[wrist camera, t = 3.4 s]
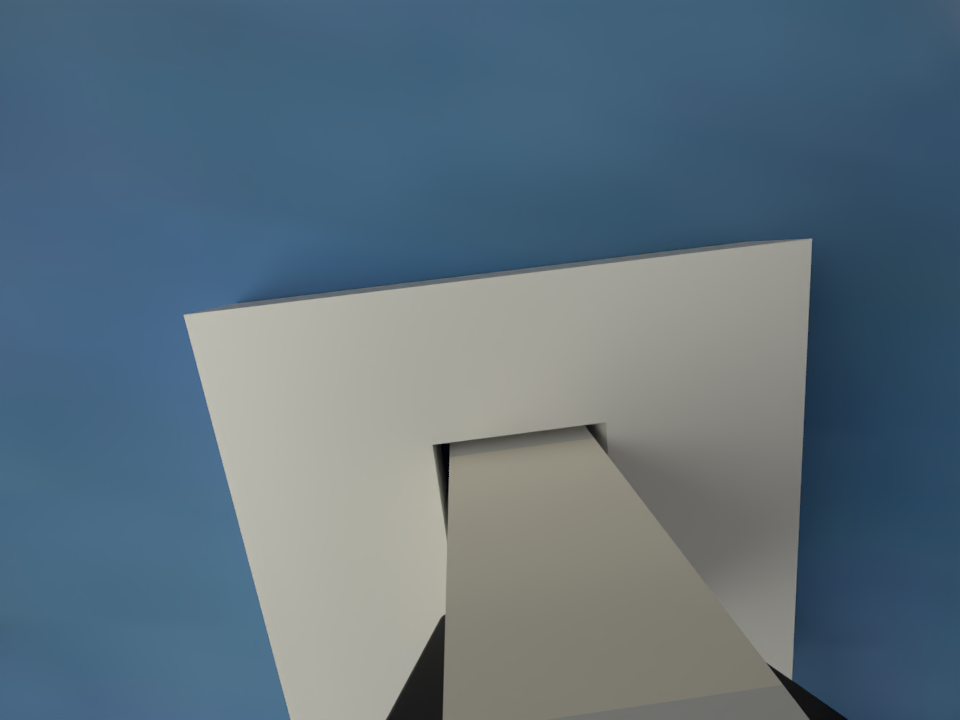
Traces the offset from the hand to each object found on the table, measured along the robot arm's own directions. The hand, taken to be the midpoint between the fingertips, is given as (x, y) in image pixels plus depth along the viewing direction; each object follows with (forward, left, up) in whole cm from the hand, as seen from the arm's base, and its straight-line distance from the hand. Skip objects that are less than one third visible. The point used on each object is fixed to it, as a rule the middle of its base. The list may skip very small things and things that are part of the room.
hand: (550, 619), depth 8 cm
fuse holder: (0, 0, -4) cm, 4 cm away
